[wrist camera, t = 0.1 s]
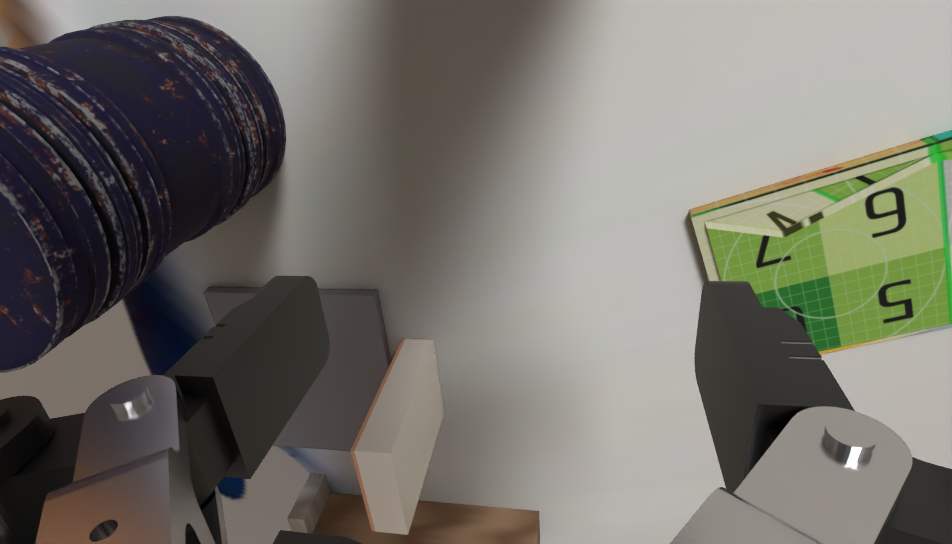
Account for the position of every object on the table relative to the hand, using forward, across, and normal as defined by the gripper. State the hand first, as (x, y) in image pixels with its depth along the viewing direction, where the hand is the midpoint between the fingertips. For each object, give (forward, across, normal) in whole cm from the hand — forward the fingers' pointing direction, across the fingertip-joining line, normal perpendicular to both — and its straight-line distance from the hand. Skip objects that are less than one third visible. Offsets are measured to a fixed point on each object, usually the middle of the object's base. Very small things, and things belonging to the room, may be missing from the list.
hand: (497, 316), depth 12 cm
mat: (+18, +16, +16) cm, 29 cm away
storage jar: (+17, +18, -1) cm, 25 cm away
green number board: (+18, -18, +6) cm, 26 cm away
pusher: (+18, +9, +29) cm, 36 cm away
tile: (+18, +8, +16) cm, 25 cm away
